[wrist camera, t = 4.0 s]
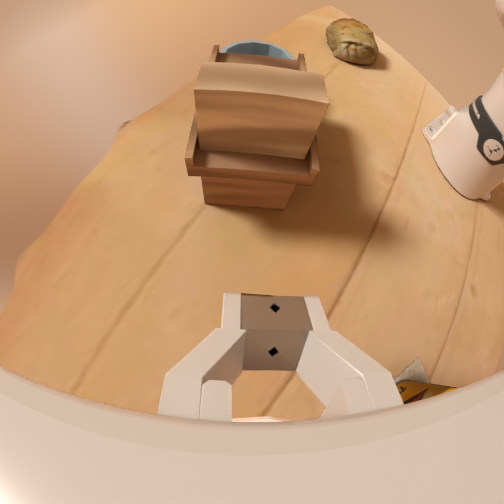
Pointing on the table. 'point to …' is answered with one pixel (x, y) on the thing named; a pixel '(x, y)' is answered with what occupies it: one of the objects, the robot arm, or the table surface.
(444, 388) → the condiment
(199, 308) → the table surface
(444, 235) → the table surface
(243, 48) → the cup
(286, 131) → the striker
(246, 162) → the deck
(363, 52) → the pastry
